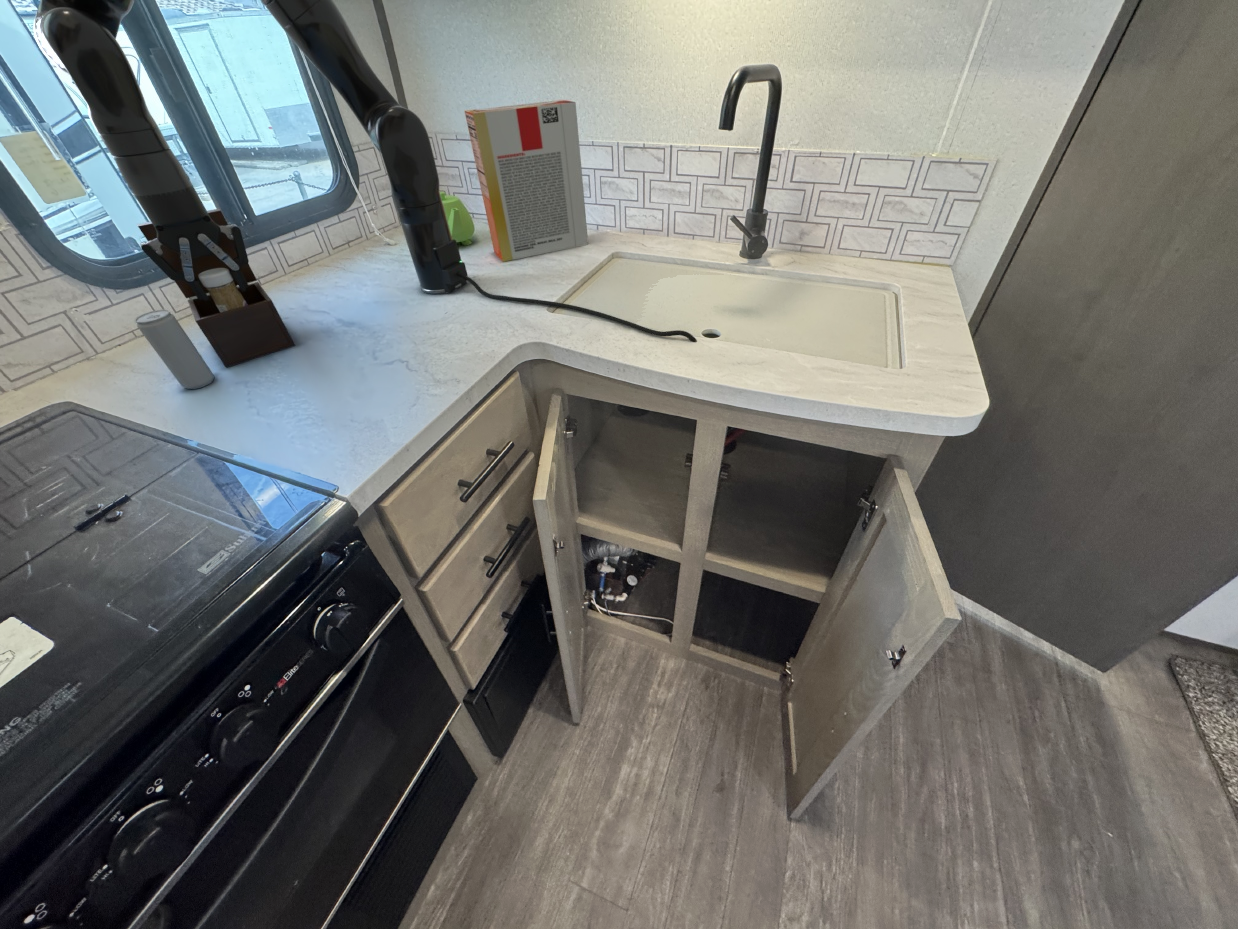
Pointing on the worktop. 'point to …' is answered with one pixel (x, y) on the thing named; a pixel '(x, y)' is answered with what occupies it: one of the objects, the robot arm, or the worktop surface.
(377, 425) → the worktop surface
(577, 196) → the pasta box
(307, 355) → the worktop surface
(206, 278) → the sprinkles bottle
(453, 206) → the teapot
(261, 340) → the chest
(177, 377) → the beverage can
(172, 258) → the lid
